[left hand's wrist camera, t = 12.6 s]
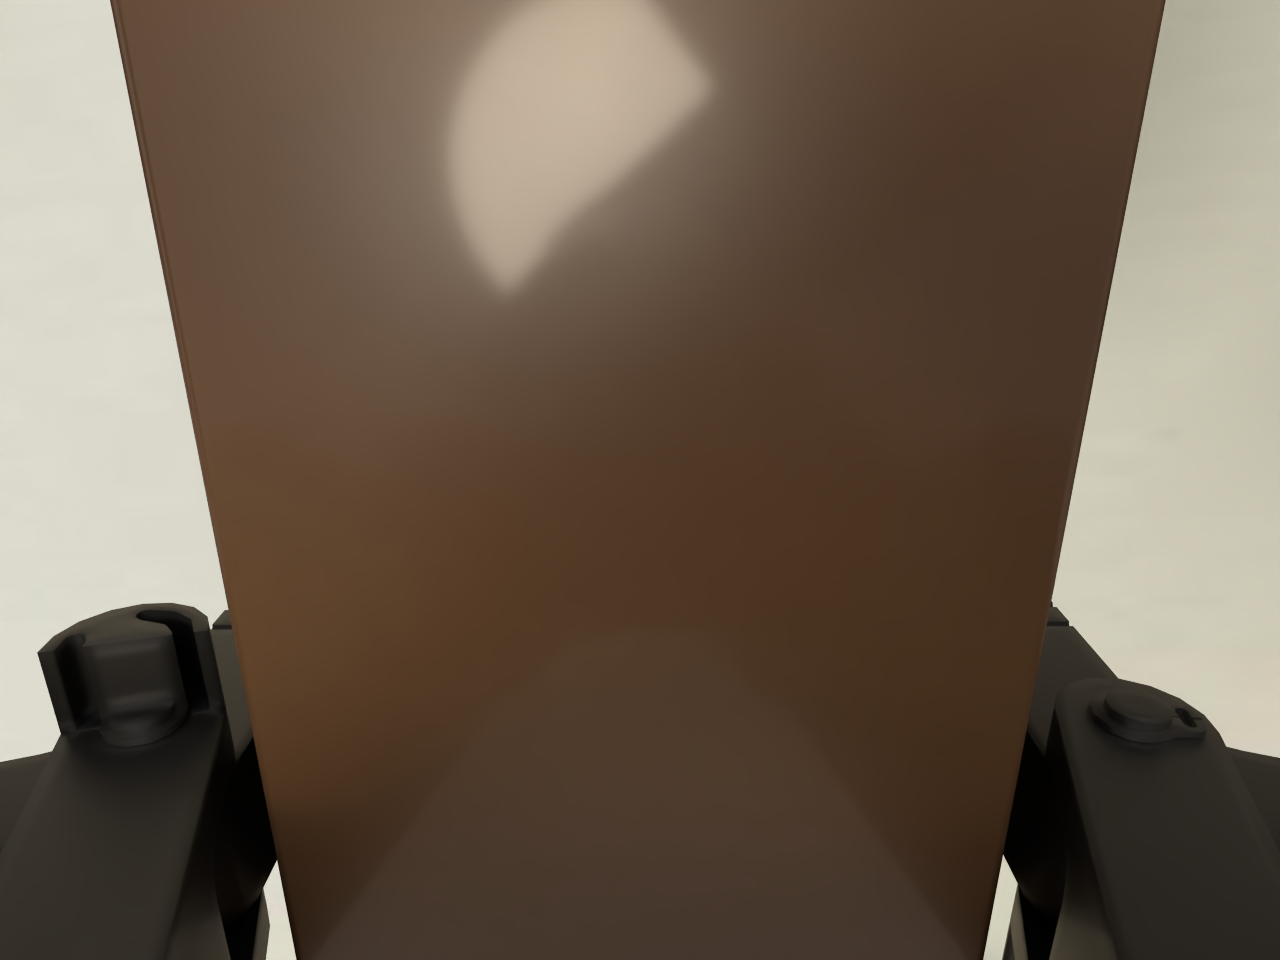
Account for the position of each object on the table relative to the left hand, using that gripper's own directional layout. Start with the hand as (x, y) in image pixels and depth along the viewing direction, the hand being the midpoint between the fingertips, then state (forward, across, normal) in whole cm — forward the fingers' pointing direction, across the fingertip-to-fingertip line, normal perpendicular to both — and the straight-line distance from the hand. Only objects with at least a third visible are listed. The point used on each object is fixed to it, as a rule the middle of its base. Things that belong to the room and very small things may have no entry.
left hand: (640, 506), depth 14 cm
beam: (0, 0, -25) cm, 25 cm away
